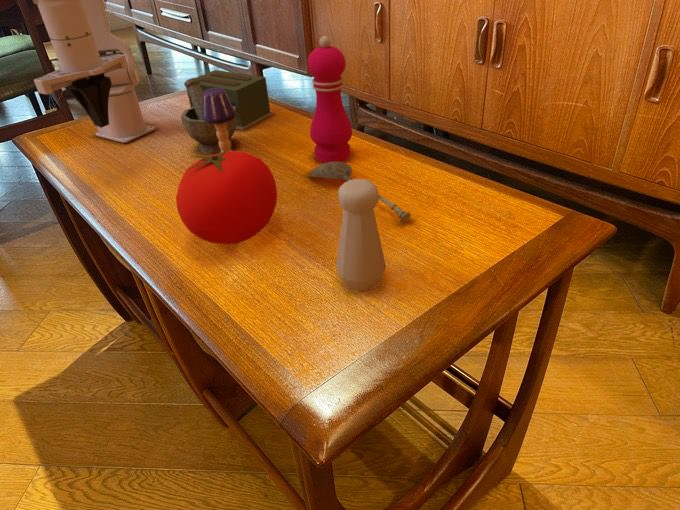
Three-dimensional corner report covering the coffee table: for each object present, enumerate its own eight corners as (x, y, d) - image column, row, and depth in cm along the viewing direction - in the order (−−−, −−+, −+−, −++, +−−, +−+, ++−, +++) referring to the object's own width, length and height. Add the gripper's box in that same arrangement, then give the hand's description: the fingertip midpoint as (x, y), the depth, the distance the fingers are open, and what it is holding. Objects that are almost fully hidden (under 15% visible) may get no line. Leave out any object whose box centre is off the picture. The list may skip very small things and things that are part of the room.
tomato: (299, 235, 69) (289, 158, 62) (203, 272, 64) (181, 192, 57) (261, 199, 78) (249, 129, 71) (174, 229, 72) (152, 155, 66)
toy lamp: (214, 198, 79) (189, 92, 69) (236, 186, 82) (215, 82, 72) (235, 206, 77) (213, 98, 67) (257, 193, 80) (238, 87, 70)
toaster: (187, 122, 107) (178, 83, 102) (222, 105, 114) (215, 68, 109) (238, 133, 100) (231, 92, 95) (272, 114, 107) (266, 76, 103)
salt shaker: (335, 268, 63) (328, 174, 55) (381, 263, 63) (380, 169, 55) (339, 298, 58) (332, 200, 50) (389, 294, 58) (389, 195, 51)
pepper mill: (338, 168, 85) (331, 43, 73) (304, 159, 89) (291, 39, 77) (360, 152, 90) (357, 32, 78) (327, 144, 93) (319, 29, 82)
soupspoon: (335, 167, 87) (303, 181, 84) (332, 149, 85) (300, 163, 82) (423, 214, 71) (388, 233, 69) (423, 193, 70) (386, 211, 67)
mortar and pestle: (250, 147, 94) (239, 82, 87) (204, 163, 90) (189, 96, 83) (223, 131, 102) (210, 70, 95) (179, 144, 97) (163, 81, 90)
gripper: (41, 50, 67) (77, 146, 75) (129, 26, 77) (153, 113, 85) (11, 46, 70) (50, 138, 78) (100, 23, 80) (126, 107, 88)
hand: (102, 125), depth 82 cm, fingers closed
